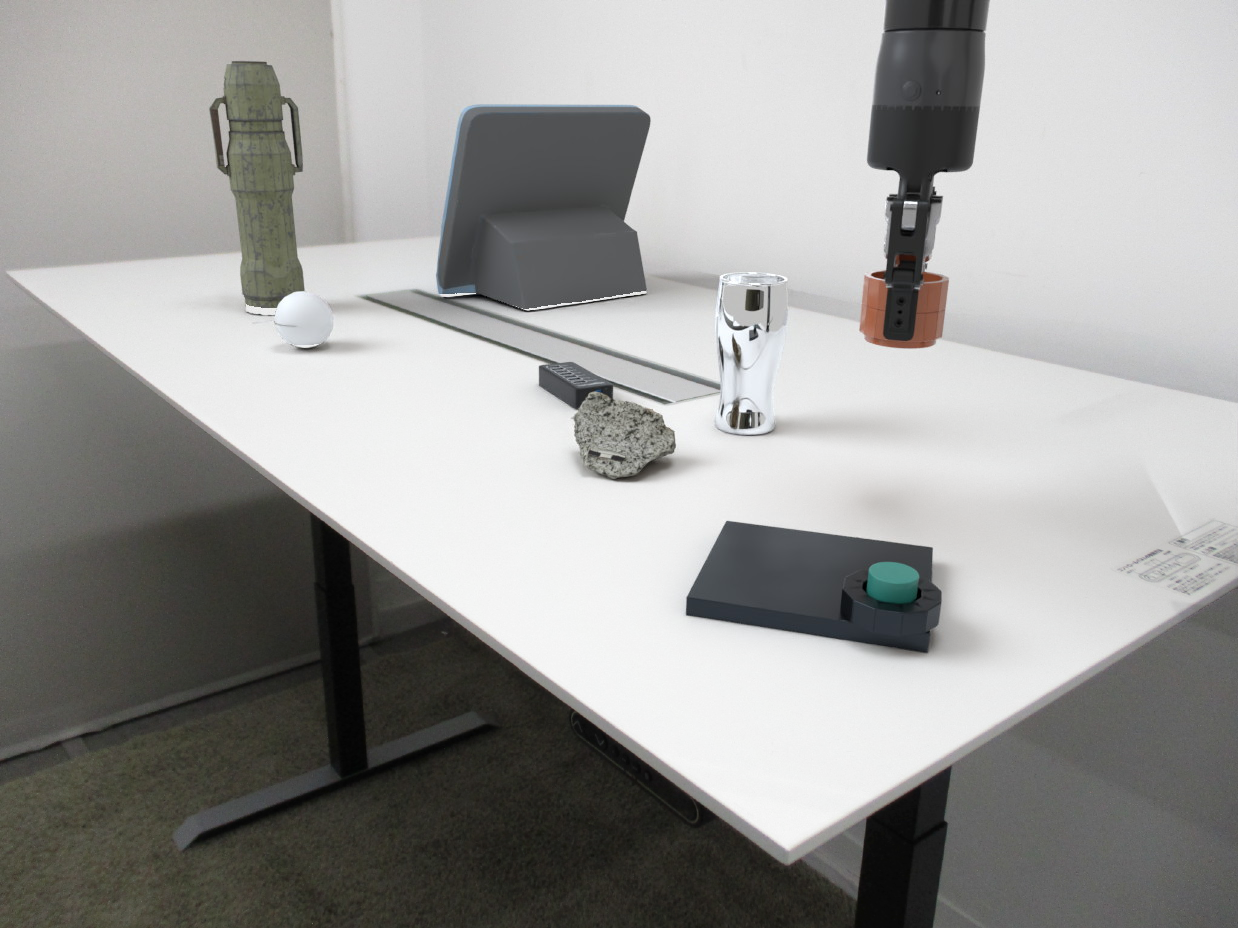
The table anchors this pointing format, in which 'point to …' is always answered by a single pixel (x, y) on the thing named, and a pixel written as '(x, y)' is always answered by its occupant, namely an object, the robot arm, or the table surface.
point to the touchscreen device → (542, 204)
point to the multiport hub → (572, 382)
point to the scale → (813, 586)
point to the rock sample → (620, 435)
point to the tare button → (892, 582)
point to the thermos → (261, 180)
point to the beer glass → (749, 349)
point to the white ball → (303, 319)
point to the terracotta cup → (926, 315)
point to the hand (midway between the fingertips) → (900, 329)
